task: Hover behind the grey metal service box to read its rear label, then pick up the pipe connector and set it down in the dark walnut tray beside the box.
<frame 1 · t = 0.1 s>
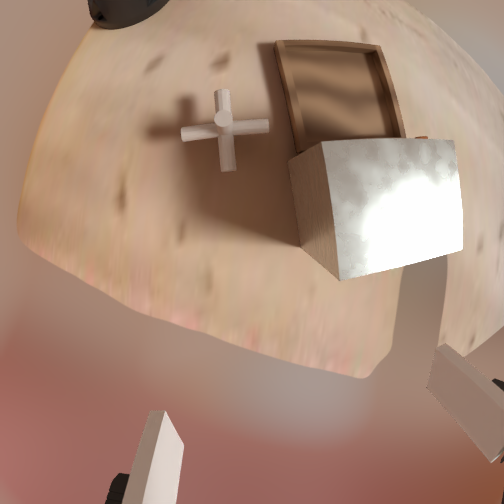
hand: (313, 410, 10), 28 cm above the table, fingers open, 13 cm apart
tray: (340, 94, 33), on the table
pipe connector: (226, 138, 34), on the table
service box: (347, 197, 37), on the table
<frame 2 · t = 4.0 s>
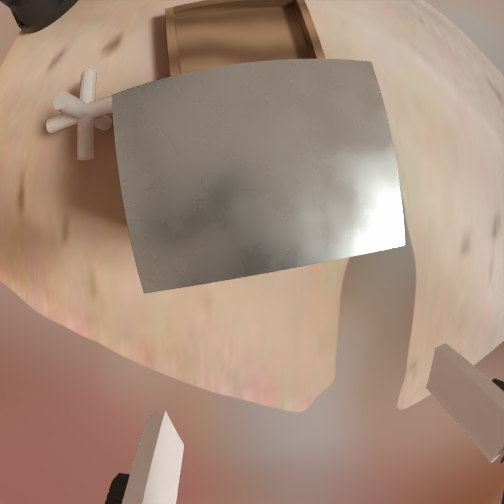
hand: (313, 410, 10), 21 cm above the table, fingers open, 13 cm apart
tray: (245, 53, 25), on the table
pipe connector: (106, 123, 26), on the table
service box: (250, 179, 28), on the table
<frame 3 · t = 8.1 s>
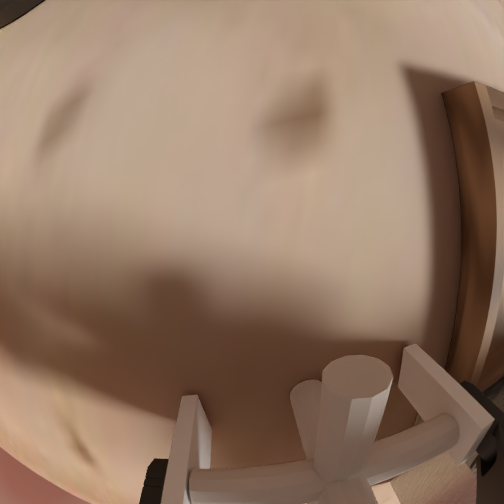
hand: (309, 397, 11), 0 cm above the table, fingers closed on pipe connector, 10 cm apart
pipe connector: (306, 390, 12), on the table, touching gripper
service box: (473, 411, 14), on the table
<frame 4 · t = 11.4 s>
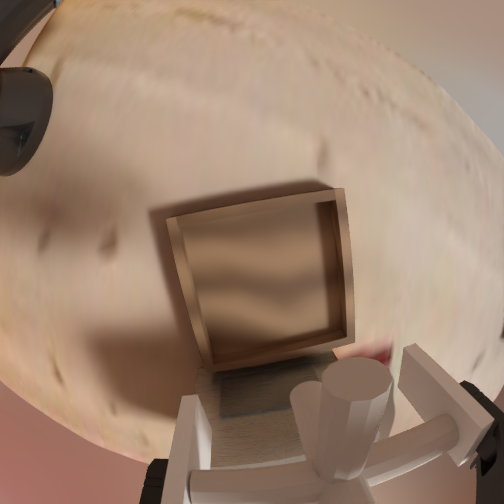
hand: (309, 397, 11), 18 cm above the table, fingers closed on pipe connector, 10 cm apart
tray: (268, 281, 29), on the table
pipe connector: (306, 391, 12), point 17 cm above the table, touching gripper
service box: (270, 393, 32), on the table
when the fingers open (3 cm above the table, at t = 14.7 s): pipe connector drops 2 cm, resting on tray.
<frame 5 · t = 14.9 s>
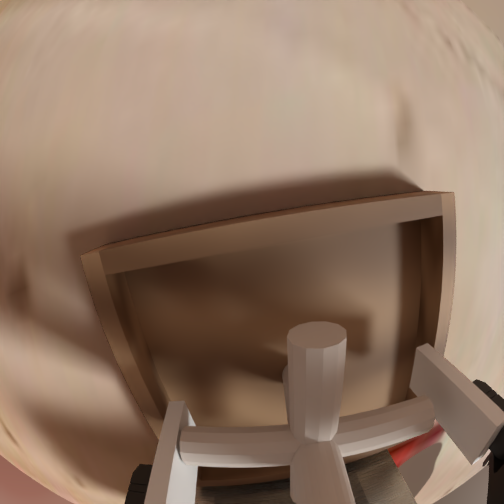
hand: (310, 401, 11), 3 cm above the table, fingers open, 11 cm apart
tray: (297, 366, 14), on the table
pipe connector: (298, 371, 14), resting on tray
service box: (286, 488, 17), on the table
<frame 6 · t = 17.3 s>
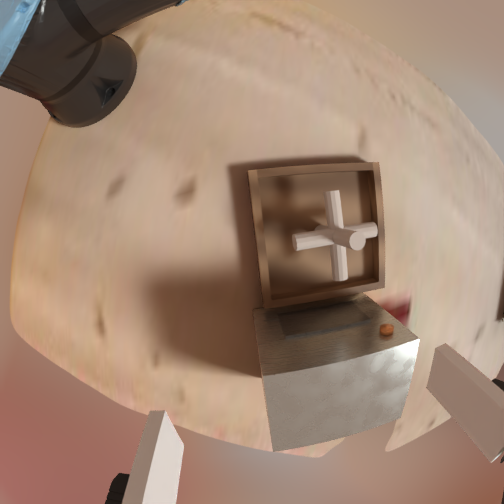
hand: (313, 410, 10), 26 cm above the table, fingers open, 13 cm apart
tray: (319, 231, 35), on the table
pipe connector: (320, 231, 35), resting on tray
service box: (311, 338, 38), on the table
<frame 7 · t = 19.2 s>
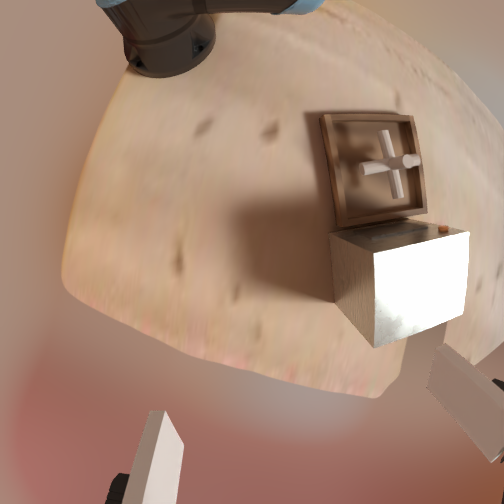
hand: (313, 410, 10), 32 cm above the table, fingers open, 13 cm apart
tray: (375, 166, 40), on the table
pipe connector: (376, 166, 39), resting on tray
service box: (374, 260, 43), on the table
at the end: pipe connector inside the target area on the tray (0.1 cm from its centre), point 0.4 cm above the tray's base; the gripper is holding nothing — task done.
